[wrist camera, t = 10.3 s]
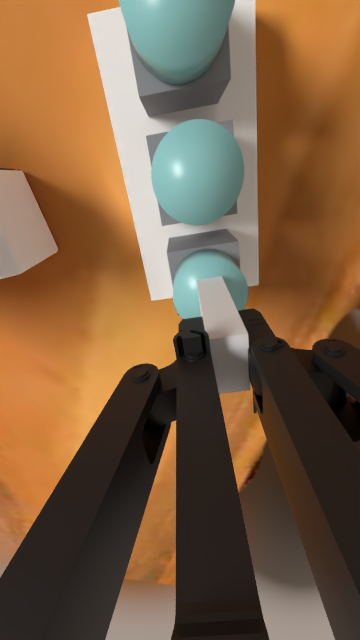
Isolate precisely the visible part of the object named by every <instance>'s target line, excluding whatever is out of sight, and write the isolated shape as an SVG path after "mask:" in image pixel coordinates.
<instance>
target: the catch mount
mask: <svg viewBox="0 0 360 640" xmlns="http://www.w3.org/2000/svg"><path fill="white" fill-rule="evenodd" d="M87 16H88V21H89V25H90V29H91V34H92V38H93V43H94V47H95V52H96V56H97V61H98V65H99V69H100V74H101V78H102V83H103V87H104V92H105V96H106V101H107V105H108V109H109V114H110V118H111V123H112V127H113V132H114V136H115V140H116V145H117V149H118V154H119V158H120V163H121V167H122V172H123V176H124V180H125V185H126V189H127V194H128V198H129V203H130V207H131V212H132V216H133V220H134V225H135V229H136V234H137V238H138V243H139V247H140V252H141V256H142V260H143V265H144V269H145V274H146V278H147V283H148V287H149V292H150V296H151V300H152V301H153V300H160V299H167V298H173V284H174V274H175V271H176V269H177V267H178V265H179V263H180V262H181V261H182V260H183V259H184V258H185V257H186V256H187V255H189V254H190V253H192V252H194V251H197V250H200V249H216V250H219V251H222V252H224V253H226V254H227V255H228V256H230V257H231V258H232V259H233V261H234V262H235V263H236V265H237V266H238V268H239V269H240V271H241V272H242V274H243V275H244V277H245V279H246V281H247V285H248V287H249V286H256V285H259V255H258V178H257V101H256V24H255V0H235V4H234V8H233V11H232V15H231V18H230V21H229V24H228V27H227V30H226V33H225V36H224V39H223V42H222V45H221V48H220V50H219V53H218V55H217V57H216V59H215V61H214V62H213V64H212V65H211V66H210V68H209V69H208V70H207V71H206V72H205V73H204V74H203V75H202V76H201V77H199V78H198V79H196V80H194V81H192V82H190V83H186V84H181V85H173V84H168V83H165V82H163V81H160V80H159V79H157V78H155V77H154V76H153V75H152V74H150V73H149V71H148V70H147V69H146V68H145V67H144V66H143V64H142V63H141V61H140V60H139V58H138V56H137V54H136V52H135V50H134V47H133V44H132V41H131V38H130V35H129V32H128V29H127V26H126V23H125V20H124V17H123V14H122V11H121V8H120V7H117V8H113V9H108V10H104V11H99V12H95V13H90V14H87ZM193 119H206V120H210V121H213V122H216V123H218V124H220V125H221V126H223V127H224V128H225V129H227V130H228V131H229V132H230V133H231V134H232V136H233V137H234V138H235V140H236V141H237V143H238V145H239V147H240V150H241V153H242V156H243V161H244V180H243V185H242V189H241V191H240V194H239V196H238V198H237V200H236V202H235V203H234V205H233V206H232V208H231V209H230V210H229V211H228V212H227V213H226V214H225V215H224V216H222V217H221V218H219V219H218V220H216V221H214V222H211V223H209V224H205V225H188V224H184V223H181V222H179V221H177V220H175V219H174V218H172V217H171V216H170V215H168V214H167V213H166V212H165V211H164V209H163V208H162V207H161V205H160V204H159V202H158V200H157V198H156V196H155V193H154V190H153V186H152V179H151V169H152V162H153V157H154V154H155V152H156V149H157V147H158V145H159V143H160V142H161V140H162V139H163V137H164V136H165V135H166V134H167V133H168V132H169V131H170V130H171V129H172V128H174V127H175V126H177V125H178V124H181V123H183V122H185V121H189V120H193ZM177 313H178V312H177ZM178 316H179V314H178Z"/></svg>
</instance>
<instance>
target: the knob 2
mask: <svg viewBox="0 0 360 640" xmlns="http://www.w3.org/2000/svg"><path fill="white" fill-rule="evenodd" d="M151 179H152V186H153V190H154V193H155V196H156V198H157V200H158V202H159V204H160V205H161V207H162V208H163V209H164V211H165V212H166V213H167V214H168V215H170V216H171V217H172V218H174V219H175V220H177V221H179V222H181V223H184V224H188V225H205V224H209V223H211V222H214V221H216V220H218V219H219V218H221V217H222V216H224V215H225V214H226V213H227V212H228V211H229V210H230V209H231V208H232V206H233V205H234V203H235V202H236V200H237V198H238V196H239V194H240V191H241V189H242V185H243V180H244V161H243V156H242V153H241V150H240V147H239V145H238V143H237V141H236V140H235V138H234V137H233V136H232V134H231V133H230V132H229V131H228V130H227V129H225V128H224V127H223V126H221V125H220V124H218V123H216V122H213V121H210V120H206V119H193V120H189V121H185V122H183V123H181V124H178V125H177V126H175V127H174V128H172V129H171V130H170V131H169V132H168V133H167V134H166V135H165V136H164V137H163V139H162V140H161V142H160V143H159V145H158V147H157V149H156V152H155V154H154V157H153V162H152V169H151Z"/></svg>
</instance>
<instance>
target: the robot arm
mask: <svg viewBox="0 0 360 640" xmlns="http://www.w3.org/2000/svg"><path fill="white" fill-rule="evenodd" d="M196 281H197V289H198V296H199V304H200V312H201V317H195V318H188V319H183V320H182V321H181V322H180V324H179V333H177V334H176V335H175V336H174V339H173V342H174V347H175V352H176V358H177V360H176V361H175V362H174V363H172V364H171V365H169V366H167V367H165V368H162V369H159V370H158V368H157V367H156V366H154V365H153V364H139V365H136V366H134V367H132V368H131V369H129V370H128V371H127V372H126V373H125V374H124V376H123V377H122V379H121V381H120V382H119V384H118V386H117V387H116V389H115V391H114V392H113V394H112V395H111V397H110V399H109V400H108V402H107V404H106V405H105V407H104V409H103V410H102V412H101V413H100V415H99V417H98V418H97V420H96V422H95V423H94V425H93V427H92V428H91V430H90V432H89V433H88V435H87V436H86V438H85V440H84V441H83V443H82V445H81V446H80V448H79V450H78V451H77V453H76V455H75V456H74V458H73V459H72V461H71V463H70V464H69V466H68V468H67V469H66V471H65V473H64V474H63V476H62V477H61V479H60V481H59V482H58V484H57V486H56V487H55V489H54V491H53V492H52V494H51V496H50V497H49V499H48V500H47V502H46V504H45V505H44V507H43V509H42V510H41V512H40V514H39V515H38V517H37V518H36V520H35V522H34V523H33V525H32V527H31V528H30V530H29V532H28V533H27V535H26V537H25V538H24V540H23V541H22V543H21V545H20V546H19V548H18V550H17V551H16V553H15V555H14V556H13V558H12V559H11V561H10V563H9V564H8V566H7V568H6V569H5V571H4V573H3V574H2V576H1V578H0V640H105V638H106V635H107V631H108V628H109V625H110V621H111V619H112V615H113V612H114V609H115V605H116V602H117V599H118V596H119V592H120V589H121V586H122V583H123V580H124V576H125V573H126V570H127V567H128V563H129V560H130V557H131V554H132V550H133V547H134V544H135V541H136V537H137V534H138V531H139V528H140V524H141V521H142V518H143V515H144V511H145V508H146V505H147V502H148V498H149V495H150V492H151V489H152V485H153V482H154V479H155V476H156V472H157V469H158V466H159V463H160V459H161V456H162V453H163V450H164V446H165V443H166V440H167V437H168V433H169V430H170V427H171V422H172V421H175V420H176V616H175V625H174V630H173V634H172V637H171V640H269V637H268V633H267V629H266V626H265V622H264V619H263V615H262V611H261V606H260V601H259V596H258V591H257V586H256V580H255V575H254V571H253V565H252V561H251V555H250V550H249V545H248V540H247V535H246V529H245V524H244V519H243V514H242V509H241V504H240V499H239V494H238V489H237V484H236V478H235V473H234V468H233V463H232V458H231V453H230V448H229V443H228V438H227V433H226V428H225V422H224V417H223V412H222V407H221V402H220V397H219V394H221V393H229V392H238V391H246V390H250V382H251V385H252V388H253V408H254V413H257V412H258V414H259V417H260V420H261V423H262V426H263V429H264V432H265V435H266V438H267V441H268V443H269V447H270V450H271V453H272V456H273V458H274V461H275V464H276V467H277V470H278V473H279V476H280V479H281V482H282V485H283V488H284V491H285V494H286V496H287V500H288V502H289V505H290V508H291V511H292V514H293V517H294V520H295V523H296V526H297V529H298V532H299V535H300V538H301V540H302V543H303V546H304V549H305V552H306V555H307V558H308V561H309V564H310V567H311V570H312V573H313V576H314V579H315V582H316V585H317V587H318V591H319V593H320V596H321V599H322V602H323V605H324V608H325V611H326V614H327V617H328V619H329V623H330V626H331V629H332V631H333V635H334V637H335V640H360V350H359V349H357V348H355V347H354V346H352V345H350V344H349V343H346V342H344V341H341V340H336V339H323V340H319V341H317V342H315V343H314V345H313V347H312V350H303V349H294V348H290V346H289V345H288V343H287V342H286V341H284V340H283V339H281V338H278V337H275V335H274V333H273V332H272V330H271V329H270V327H269V325H268V324H267V322H266V321H265V319H264V317H263V316H262V314H261V313H260V312H258V311H257V310H255V309H247V310H239V311H237V308H236V306H235V304H234V302H233V300H232V298H231V295H230V293H229V291H228V289H227V287H226V284H225V282H224V280H223V278H222V276H219V277H213V278H206V279H199V280H196ZM349 394H350V395H351V396H352V397H354V398H355V399H356V401H355V400H353V399H352V398H350V397H349V396H348V395H349Z"/></svg>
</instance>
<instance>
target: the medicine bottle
mask: <svg viewBox="0 0 360 640" xmlns="http://www.w3.org/2000/svg"><path fill="white" fill-rule="evenodd" d="M57 251H58V247H57V245H56V243H55V241H54V238H53V236H52V234H51V232H50V230H49V228H48V225H47V223H46V221H45V219H44V217H43V214H42V212H41V210H40V208H39V206H38V203H37V201H36V199H35V197H34V195H33V192H32V190H31V188H30V186H29V184H28V182H27V179H26V177H25V175H24V173H23V172H22V171H21V170H19V169H5V168H0V279H3V278H7V277H11V276H15V275H19V274H21V273H23V272H25V271H26V270H28V269H30V268H31V267H33V266H35V265H36V264H38V263H40V262H41V261H43V260H45V259H46V258H48V257H50V256H51V255H53V254H55V253H56V252H57Z"/></svg>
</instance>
